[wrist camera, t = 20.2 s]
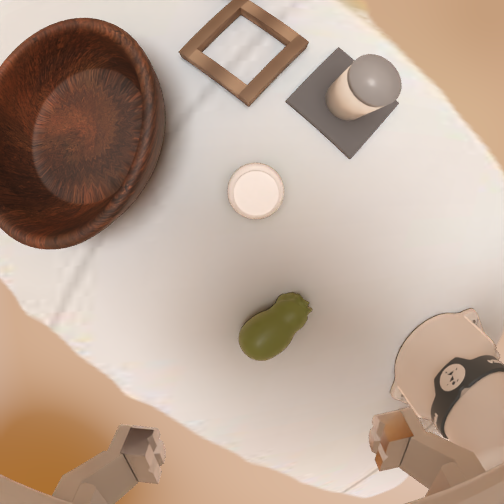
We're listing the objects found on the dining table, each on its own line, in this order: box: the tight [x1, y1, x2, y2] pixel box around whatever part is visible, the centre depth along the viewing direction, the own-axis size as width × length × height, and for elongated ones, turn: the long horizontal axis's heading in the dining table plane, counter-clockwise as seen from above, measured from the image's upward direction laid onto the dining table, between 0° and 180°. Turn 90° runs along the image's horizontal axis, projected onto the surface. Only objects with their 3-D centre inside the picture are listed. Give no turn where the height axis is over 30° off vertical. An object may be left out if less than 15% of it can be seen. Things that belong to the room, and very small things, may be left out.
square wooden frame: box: [179, 0, 309, 106], centre depth 30 cm, size 14×14×4 cm
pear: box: [239, 292, 312, 361], centre depth 39 cm, size 6×5×10 cm
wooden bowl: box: [0, 18, 165, 249], centre depth 30 cm, size 25×25×10 cm
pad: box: [286, 47, 399, 159], centre depth 34 cm, size 10×10×1 cm
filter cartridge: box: [325, 54, 401, 121], centre depth 28 cm, size 5×5×10 cm
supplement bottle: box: [228, 163, 284, 219], centre depth 32 cm, size 5×5×10 cm
